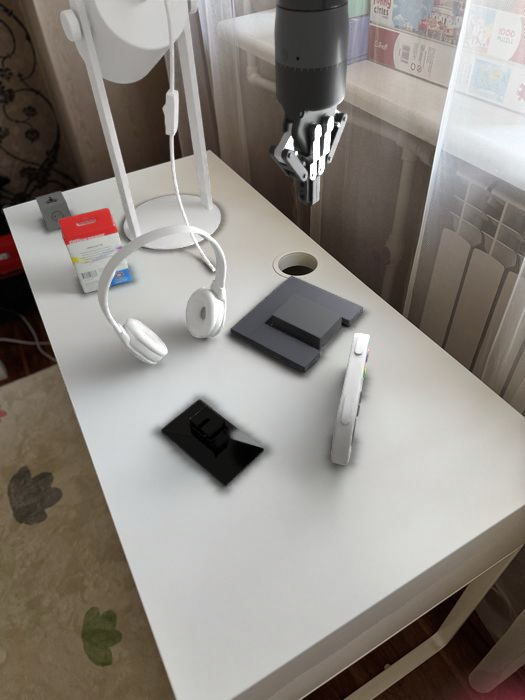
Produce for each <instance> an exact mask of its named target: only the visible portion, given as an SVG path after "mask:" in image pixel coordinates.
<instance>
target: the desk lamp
mask: <svg viewBox="0 0 525 700" xmlns="http://www.w3.org/2000/svg"><path fill="white" fill-rule="evenodd" d="M68 3H69V8H68V9H64V10H61V11H60V14H59V15H60V16H59V18H60V24H61V27H62V29H63V32H64V35H65V36H66V38H67V40H69V41H70V42H72V43H74V44H75V47H76V50H77V52H78V54H79V56H80V57H81V59H82V60H83V62H84V64H85V68H86V72H87V77H88V79H89V84H90V88H91V91H92V93H93V94H92V95H93V99H94V102H95V106H96V110H97V113H98V117H99V121H100V125H101V128H102V132H103V136H104V140H105V144H106V147H107V151H108V155H109V158H110V159H109V160H110V163H111V166H112V170H113V174H114V178H115V182H116V186H117V190H118V193H119V197H120V201H121V205H122V209H123V212H124V215H125V216H124V217H125V219H124V222H123V232H124V234H125V236H126V238H127V239H128V240H129V241H132V240H133V239H135V238H137V237H139V236H141V235H143V234H145V233H148V232H150V231H153V230H156V229H159V228H163V227H167V226H175V225H186V226H192V227H196V228H199V229H201V230H203V231H204V232H206V233H207V234H209V235H210V236H212V235H213V233H214V232H216V230H217V229H218V228H219V226H220V223H221V220H222V213H221V210H220V208H219V207H218V205H216V204H215V203H214V202H213V196H212V195H213V194H212V187H211V180H210V171H209V162H208V155H207V148H206V140H205V132H204V124H203V123H204V122H203V116H202V107H201V100H200V94H199V93H200V92H199V84H198V77H197V70H196V69H197V68H196V61H195V54H194V53H195V52H194V46H193V37H192V30H191V23H190V15H192V14H196V12H198V10H199V0H68ZM175 42H177V48H178V55H179V63H180V68H181V69H180V70H181V77H182V84H183V89H184V96H185V104H186V111H187V117H188V118H187V119H188V124H189V131H190V138H191V144H192V152H193V158H194V166H195V173H196V180H197V187H198V191H199V192H198V193H199V196H198V195H191V194H180V190H179V185H178V180H177V174H176V164H175V145H174V143H175V142H174V141H175V140H174V136H175V135H176V133H177V131H178V128H179V112H180V111H179V108H180V104H179V103H180V97H179V90H178V89H175ZM168 51H169V89H168V90H167V92H166V93H165V104H164V105H163V106H162V107H161V108H162V112H163V115H164V127H165V135H167V136H169V159H170V168H171V176H172V182H173V188H174V192H175V194H171V195H170V194H169V195H164V196H159V197H155V198H152V199H150V200H148V201H147V200H146V201H145V202H143V203H141V204H140V205H138V206H136V207H135V205H134V200H133V196H132V192H131V188H130V183H129V179H128V176H127V173H126V168H125V164H124V160H123V156H122V152H121V147H120V143H119V139H118V135H117V132H116V127H115V123H114V119H113V115H112V111H111V107H110V103H109V99H108V94H107V91H106V86H105V83H104V80H106V81H109V82H112V83H116V84H120V85H121V84H123V85H125V84H126V85H127V84H132V83H136V82H138V81H141V80H143V78H145V77H147V75H148V74H149V73H150V72H151V71H152V70H153V68H155V66H156V65H157V64H158V63H159V62H160V60H161V59H162V57H164V56H165V54H166V53H167V52H168ZM204 240H205V239H204V238H202V237H201V236H200V235H198V234H197V233H177V234H172V235H168V236H165V237H162V238H159V239H156V240H154V241H152V242H149V243H147V244H145V245H143V246H142V247H143V248H146V249H150V250H158V251H169V250H177V249H182V248H187V247H190V246H193V245H194V246H195V247H196V249H197V251H198V252H199V254H200V256H201V257H202V259H203V260H204V262H205V264H207V266H208V267H209V269H210V270H211V271H212V272H216V267H214V265H213V264H212V263H211V262H210V260H209V258H208V257H207V256H206V253H204V251H203V249H202V248H201V246H200V244H199V243H200V242H202V241H204Z"/></svg>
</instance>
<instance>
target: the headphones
mask: <svg viewBox="0 0 525 700" xmlns="http://www.w3.org/2000/svg"><path fill="white" fill-rule="evenodd" d="M177 233H197V234H198V235H200V236H201V237H202V238H204V240H205V241H207V242H208V243H209V244H210V246H211V247H212V250H213V252H214V256H215V261H216V262H215V269H216V270H215V275H214V279H212V281H211V283H210V285H209V288H206V287H199V288H197V289H196V290H195V291H193V293H192V294H191V295H190V296H189V299H188V300H187V303H186V307H185V323H186V328H187V330H188V331H189V333H190V335H192V337H195V338H197V339H204V338H213V337H216V336H217V335H219V334H220V332H221V331H222V329H223V328H224V325H225V322H226V318H227V317H226V315H227V294H226V288H225V284H226V278H227V261H226V257H225V253H224V251H223V249H222V248H221V245H220V244H219V243H218V242H217V241H216V239H214V238H213V237H212V235H209V234H207V233H206V232H204V231H203V230H201V229H199V228H196V227H192V226H186V225H175V226H167V227H163V228H159V229H156V230H153V231H150V232H148V233H145V234H143V235H141V236H139V237H137V238H135V239H133V240H132V241H131V240H129V242H127V243H125V244H124V245H122V248H121V249H120V250H118V251H117V252H116V253H115V254H114V255H113V256H112V258H111V259H110V260H109V261H108V263H107V264H106V266H105V267H104V269H103V271H102V274H101V276H100V279H99V283H98V290H97V300H98V303H99V306H100V309H101V311H102V313H103V315H104V317H105V318H106V320H107V321H108V323H109V324H110V325H111V327H112V328H113V330H114V332H115V333H116V335H117V336H118V338H119V339H120V341H121V343H122V345H123V346H124V348H125V349H126V350H127V351H128V352H129V353H130V354H131V355H133V356H134V357H135V358H137V359H138V360H139V361H141V362H143V363H145V364H149V365H157V363H158V362H160V361H161V360H163V358H164V357H166V356H167V355H168V348H167V346H166V344H165V342H164V341H162V339H161V337H159V336H158V335H157V334H156V333H155V332H154V331H153V330H152V329H150V328H149V327H148V326H147V325H145V324H144V323H143V322H141V321H140V320H138V319H135V318H128V319H126V320H125V323H124V324H123V325H121V324H120V323H119V322H117V321H116V320H115V319H114V318H113V316H112V315H111V311H110V308H109V302H108V298H109V297H108V296H109V289H110V284H111V281H112V279H113V277H114V275H115V269H116V268H117V266H118V265H119V264H120V263H121V262H122V261H123V260H124V259H125V258H126V259H127V258H128V257H129V256H130V255H131V254H132V253H133V252H135V251H137V250H139V249H140V248H141V247H142V246H143V245H145V244H147V243H149V242H152V241H154V240H156V239H159V238H162V237H165V236H168V235H172V234H177Z"/></svg>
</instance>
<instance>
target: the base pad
mask: <svg viewBox="0 0 525 700" xmlns="http://www.w3.org/2000/svg"><path fill="white" fill-rule="evenodd" d="M294 294H295V295H297V296H300V297H302V298H304V299H306V300H308V301H311V302H313V303H315V304H317V305H319V306H322V307H324V308H326V309H328V310H330V311H332V312H335V313H337V314H339V315H341V316H342V322H341V324H343V325H346V326H348V327H350V326H351V325H352V324H353V323H354V322H355V321H356V320H357V319H358V318H359V317H360V316H361V314H363V313H364V311H363V310H364V306H362V305H361V304H357V303H355V302H353V301H350V300H348V299H346V298H344V297H342V296H339V295H338V294H335V293H332V292H330V291H328V290H325V289H323V288H321V287H319V286H316V285H315V284H312V283H310V282H307V281H305V280H302V279H300V278H298V277H296V276H294V275H291V276H288V278H287V279H286V280H285V281H284V282H282V283H281V284H280V285H279V286H278V287H276V288H275V289H274V290H273V291H272V292H271V293H270V294H268V295H267V296H265V298H264V299H263V300H261V302H259V303H258V304H257V305H256V306H254V307H253V309H252V310H250V311H249V312H248V313H247V314H245V316H243V317H241V319H240V320H238V321H237V322H236V323H235V324H234V325H233V326H231V328H230V333H231V335H232V336H233V337H236V338H238V339H240V340H242V341H244V342H245V343H247V344H250V345H251V346H253V347H255V348H257V349H259V350H260V351H263V352H264V353H266V354H268V355H270V356H272V357H274V358H276V359H277V360H279V361H281V362H283V363H284V364H287V365H289V366H291V367H293V368H294V369H296V370H298V371H300V372H302V373H304V374H305V373H307V371H309V370H310V368H312V366H313V365H314V364H315V363H316V362H317V361H318V360H319V359H320V358H321V350H318V349H316V348H314V347H312V346H310V345H308V344H306V343H304V342H302V341H300V340H298V339H296V338H294V337H292V336H290V335H288V334H286V333H284V332H282V331H280V330H278V329H276V328H274V327H272V325H270V324H272V314H273V313H274V312H275V311H276V310H277V309H278V308H279V307H280V306H282V305H283V304H284V303H285V302H286V301H287V300H288V299H289V298H290V297H291V296H293V295H294Z"/></svg>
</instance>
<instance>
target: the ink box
mask: <svg viewBox="0 0 525 700" xmlns="http://www.w3.org/2000/svg"><path fill="white" fill-rule="evenodd" d="M58 223H59V225H60V228H59V229H60V233H61V237H62V240H63V242H64V245H65V247H66V250H67V253H68V255H69V257H70V261H71V262H72V265H73V268H74V270H75V272H76V273H75V274H76V275H77V278H78V281H79V284H80V286H81V289H82V291H83V292H84V294H89V293H92V292H96V291H98V283H99V279H100V276H101V274H102V271H103V269H104V267H105V266H106V264H107V263H108V261H109V260H110V259H111V258H112V256H113V255H114V254H115V253H116V252H117V251H118V250H120V249H121V248H122V247H123V244H122V241H121V238H120V235H119V230H118V227H117V225H116V222H115V219H114V217H113V214H112V212H111V208H109V207H103V208H100V209H95V210H91V211H87V212H82V213H78V214H73V215H71V216H70V217H66V218H61V219H59V220H58ZM132 281H133V278H132V275H131V272H130V269H129V265H128V262H127V257H126V258H125V259H124V260H123V261H122V262H121V263H120V264H119V265H118V266H117V268H116V269H115V275H114V277H113V279H112V281H111V284H110V287H114V286H118V285H122V284H125V283H129V282H132ZM110 287H109V288H110Z"/></svg>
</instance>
